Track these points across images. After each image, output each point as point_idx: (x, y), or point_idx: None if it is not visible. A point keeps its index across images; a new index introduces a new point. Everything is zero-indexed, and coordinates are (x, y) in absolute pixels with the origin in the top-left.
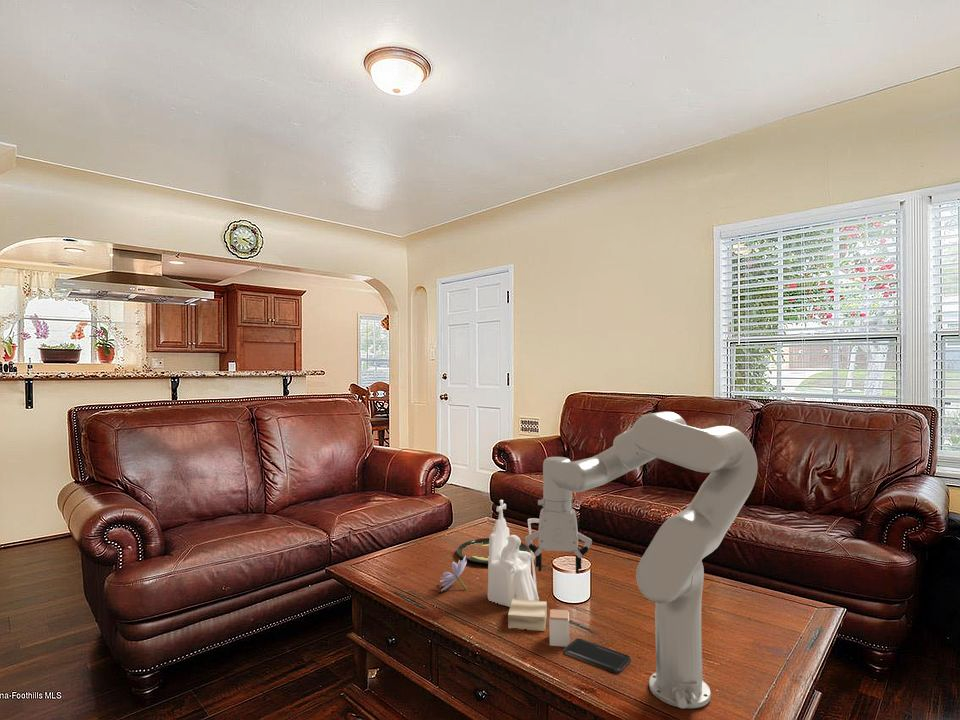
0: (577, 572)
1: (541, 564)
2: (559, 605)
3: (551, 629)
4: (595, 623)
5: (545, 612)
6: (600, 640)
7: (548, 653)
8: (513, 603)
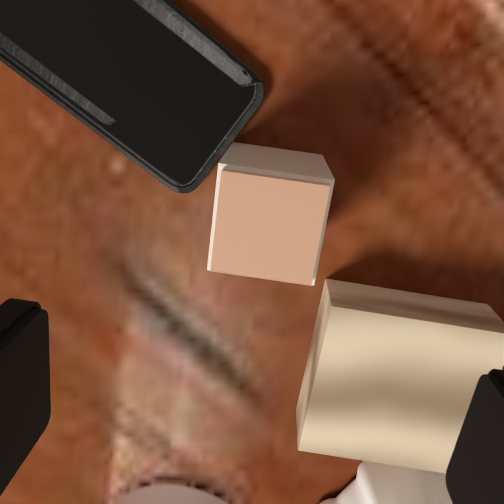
0: (21, 303)
1: (475, 483)
2: (234, 471)
3: (318, 166)
4: (100, 334)
5: (316, 363)
6: (90, 197)
7: (339, 80)
8: None
